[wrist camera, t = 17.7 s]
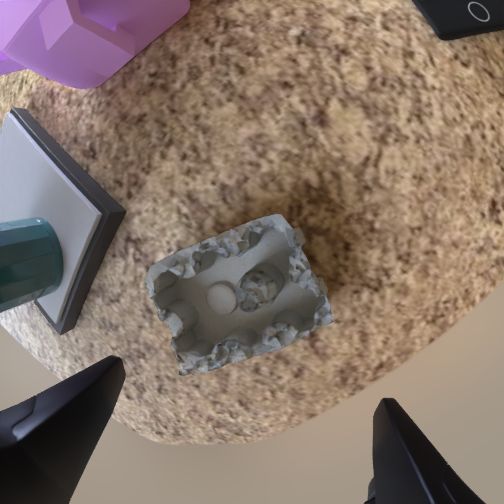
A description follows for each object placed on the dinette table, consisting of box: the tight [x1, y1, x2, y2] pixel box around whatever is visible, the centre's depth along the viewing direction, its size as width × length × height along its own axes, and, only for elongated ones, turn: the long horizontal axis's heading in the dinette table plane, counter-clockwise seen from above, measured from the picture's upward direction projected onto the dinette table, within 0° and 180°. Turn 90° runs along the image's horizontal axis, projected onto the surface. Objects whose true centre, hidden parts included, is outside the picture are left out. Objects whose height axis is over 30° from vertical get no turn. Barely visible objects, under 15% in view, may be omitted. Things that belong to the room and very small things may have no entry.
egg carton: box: [145, 214, 334, 376], centre depth 19 cm, size 11×8×4 cm
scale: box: [0, 107, 126, 335], centre depth 24 cm, size 14×20×3 cm
